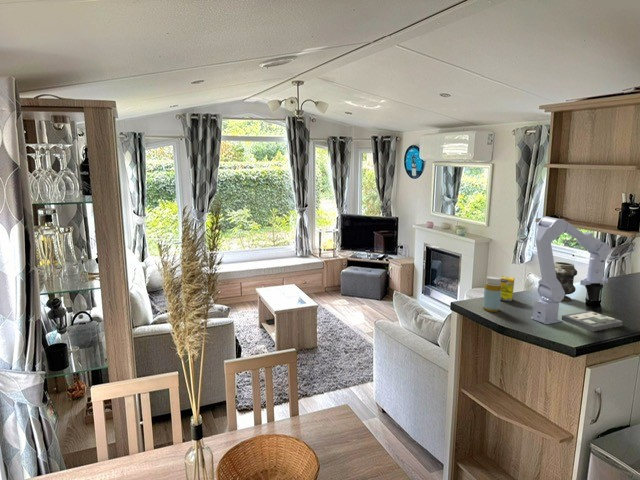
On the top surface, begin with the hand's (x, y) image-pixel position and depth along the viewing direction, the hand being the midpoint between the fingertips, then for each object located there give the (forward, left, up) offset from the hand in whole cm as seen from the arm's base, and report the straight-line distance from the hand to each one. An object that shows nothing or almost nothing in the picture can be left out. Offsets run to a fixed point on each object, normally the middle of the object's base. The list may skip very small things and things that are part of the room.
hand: (591, 300), depth 190 cm
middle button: (-4, -7, -7) cm, 11 cm away
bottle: (-32, +24, -8) cm, 41 cm away
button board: (-4, -4, -8) cm, 10 cm away
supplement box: (-14, +33, -9) cm, 37 cm away
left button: (-10, -7, -8) cm, 15 cm away
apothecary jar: (+14, +25, -8) cm, 29 cm away
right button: (+2, -7, -8) cm, 11 cm away
